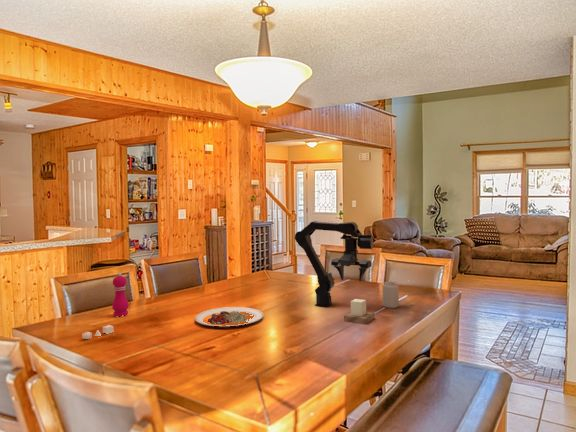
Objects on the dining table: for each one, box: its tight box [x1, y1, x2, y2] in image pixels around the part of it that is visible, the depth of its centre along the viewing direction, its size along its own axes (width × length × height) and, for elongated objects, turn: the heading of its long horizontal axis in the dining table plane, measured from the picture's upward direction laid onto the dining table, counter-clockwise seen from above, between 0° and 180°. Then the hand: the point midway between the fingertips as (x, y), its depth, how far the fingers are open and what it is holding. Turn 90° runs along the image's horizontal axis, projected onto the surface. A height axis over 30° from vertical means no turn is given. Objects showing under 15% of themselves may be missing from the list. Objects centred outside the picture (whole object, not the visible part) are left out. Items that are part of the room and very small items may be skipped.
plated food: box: [194, 306, 264, 328], centre depth 201 cm, size 30×30×3 cm
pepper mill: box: [111, 272, 130, 317], centre depth 209 cm, size 7×7×20 cm
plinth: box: [343, 311, 375, 325], centre depth 196 cm, size 10×10×3 cm
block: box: [350, 298, 367, 316], centre depth 196 cm, size 5×5×6 cm
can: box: [382, 280, 400, 309], centre depth 216 cm, size 8×8×12 cm
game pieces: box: [81, 324, 114, 340], centre depth 180 cm, size 12×3×3 cm, turn 141°
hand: (351, 280), depth 216 cm, fingers open, 9 cm apart
